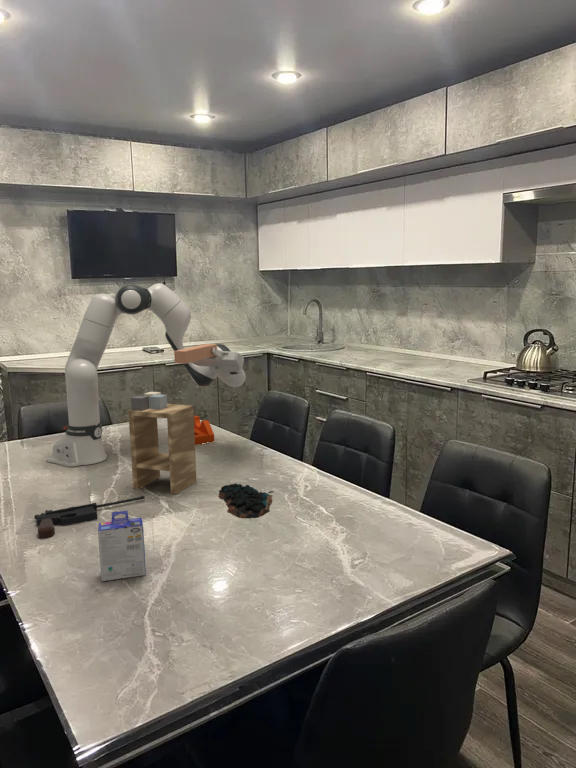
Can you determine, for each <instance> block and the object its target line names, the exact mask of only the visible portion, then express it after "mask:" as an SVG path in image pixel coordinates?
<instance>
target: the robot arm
mask: <svg viewBox="0 0 576 768" xmlns="http://www.w3.org/2000/svg"><path fill="white" fill-rule="evenodd" d="M118 289H119V290H118V291H117V292H116V293H115V294H114V295H113V294H108V293H107V294H106V293H97V294H95V295H94V296H93V297H92V298H91V301H90V302H89V303H88V306H87V308H86V310H85V312H84V314H83V315H84V316H83V317H82V321H81V324H80V325H79V329H78V332H77V335H76V338H75V340H74V342H73V345H72V347H71V350H70V352H69V355H68V358H67V360H66V363H65V366H64V377H65V378H64V379H65V390H66V403H67V414H68V417H67V419H68V424H66V425H65V426H63V430H66V431H65V434H64V435H63V436H62V437H61V438H60V439H58V440H57V441H56V442H54V444H53V445H52V454H50V455H49V456H47V457H46V460H45V461H46V462H49V463H51V464H52V463H53V464H57V465H61V466H65V467H79V466H86V465H94V464H98V463H100V462H103V461H105V460H106V459H107V458H108V455H107V453H106V450H105V447H104V442H103V438H102V432H103V429H102V422H101V419H100V417H101V416H100V406H99V404H100V403H99V401H100V400H99V377H98V367H99V364H100V362H101V360H102V358H103V355H104V353H105V351H106V350H107V346H108V343H109V340H110V338H111V336H112V335H111V334H112V331H113V328H114V326H115V323H116V321H117V318H118V317H119V316H120V315H122V314H124V315H125V314H126V315H129V316H131V315H132V316H134V315H137V314H140V313H141V312H142V311H145V310H149V311H151V312H152V313H153V314H155V316H156V317H158V319H160V322H161V323H162V324H163V325H164V327H165V334H164V335H165V338H166V339H165V340H167V342H168V344H169V346H170V347H171V348H172V350H173V352H174V351H177V350H181V349H186V348H185V346H184V344H183V343H184V342H183V340H184V336H185V334H186V332H187V329H188V327H189V326H190V323H191V320H192V319H191V318H192V315H191V310H190V308H189V307H188V305H187V304H186V303H185V301H184V300H182V298H181V297H179V295H177V294H176V292H174V291H173V290H171V288H169V287H168V286H167V285H165V284H164V283H160V282H159V283H154V284H152V285H151V286H150V287H148V288H144V287H142V286H139V285H136V284H130V283H129V284H126V285H123V286H122V287H120V288H118ZM216 344H217V350H216V349H215V348H211V351H210V353H211V354H214V355H216V356H213V357H209V358H205V359H201V360H198V361H194V362H190V363H186V364H183V366H184V368H186V370H187V372H188V374H189V377H190V378H191V380H192V381H193V382H194V384H196V385H197V386H199V387H209V386H211V384H212V383H213V382H214V381H215V380H216V378H217V377H218V378H219V379H220V380H221V381H222V382H223V383H224V384H226V385H228V386H229V387H231V388H239V387H241V386H242V385H243V384H244V383H245V381H246V378H247V375H246V372H245V370H244V368H243V366H244V361H245V358H244V356H243V355H242V354H240V352H237V351H231V350H230V348H228V346H226V345H225V344H221V343H216Z"/></svg>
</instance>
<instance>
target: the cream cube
mask: <svg viewBox="0 0 576 768" xmlns="http://www.w3.org/2000/svg"><path fill="white" fill-rule="evenodd" d="M156 394H160V395H162V392H161V391H160V392H159V391H149V392H146V393H143V396H152V395H156ZM149 406H150V401H149Z"/></svg>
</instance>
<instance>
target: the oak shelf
mask: <svg viewBox="0 0 576 768" xmlns="http://www.w3.org/2000/svg"><path fill="white" fill-rule="evenodd" d="M127 412H128V426H129V427H128V428H129V443H130V445H129V446H130V458H131V459H130V461H131V473H132V474H131V475H132V476H131V477H132V489H133V490H137V489H138V490H139V488H140V489H142V488H144V487H145V486H147V485H149V484H150V483H153V482H154V481H156V480H158V479H160V478H161V471H163V472H169V479H170V481H169V482H170V494H171V495H178V494H180V493H181V492H182V491H184V490H186V489H187V488H188V487H190V486H192V485H194V484H195V483H197V464H196V463H197V459H196V445H195V433H194V416H195V414H194V412H195V411H194V405H191V404H174V403H172V404H171V403H167V407H166V408H163V409H161V410H160V409H150V406H149V409H146V410H143V411H137V410H132V409H129V410H128V411H127ZM159 418H160V419H167V420H166V422H167V424H166V425H167V441H168V453H162V452H160V449H159V448H160V445H159V431H158V430H159V428H158V419H159ZM159 477H160V478H159ZM141 487H142V488H141Z"/></svg>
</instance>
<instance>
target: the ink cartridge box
mask: <svg viewBox="0 0 576 768" xmlns="http://www.w3.org/2000/svg"><path fill="white" fill-rule="evenodd" d="M119 515H122V516H125V517H120V518H119V517H118V518H116V516H119ZM144 533H145V531H144V522H143V518H142V517H134V518H129V511H128V510H123V511H122V510H121V511H112V512H111V521H104V522H103V521H102V522H99V523H98V528H97V535H98V549H99V560H100V561H99V563H100V564H99V565H100V575H101V578H100V579H101V582H105V581H106V582H108V581H113V580H114V579H115V580H120V579H121V578H122V579H127V578H134V577H140V576H146V550H145V548H146V547H145V534H144ZM107 580H108V581H107Z"/></svg>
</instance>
